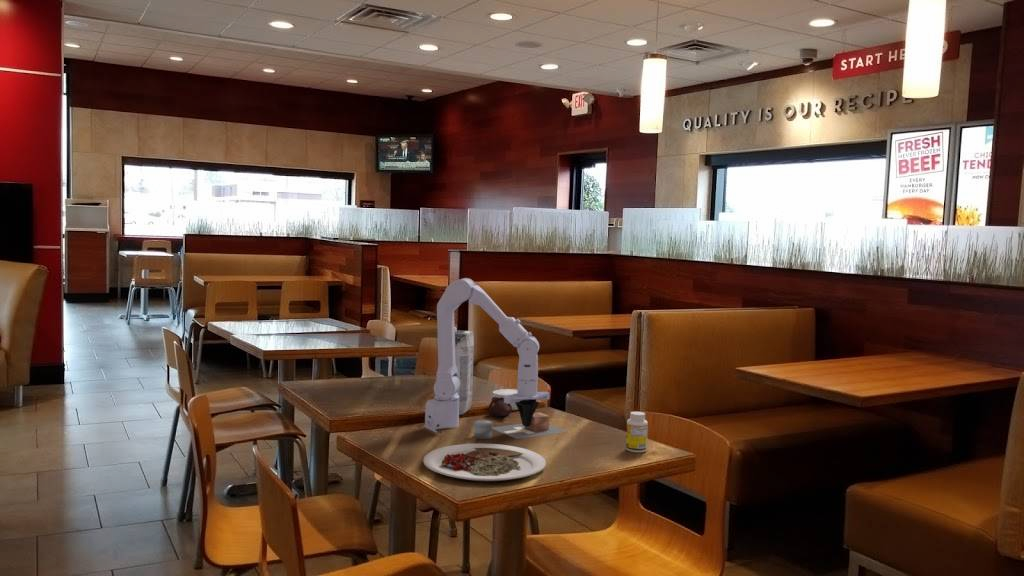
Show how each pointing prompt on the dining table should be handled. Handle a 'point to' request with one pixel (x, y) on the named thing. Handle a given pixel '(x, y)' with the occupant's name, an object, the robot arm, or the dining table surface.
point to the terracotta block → (539, 422)
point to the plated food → (483, 462)
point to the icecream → (499, 407)
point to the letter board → (526, 431)
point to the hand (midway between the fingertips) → (526, 425)
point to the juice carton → (464, 367)
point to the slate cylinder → (483, 429)
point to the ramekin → (504, 393)
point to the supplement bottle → (636, 432)
